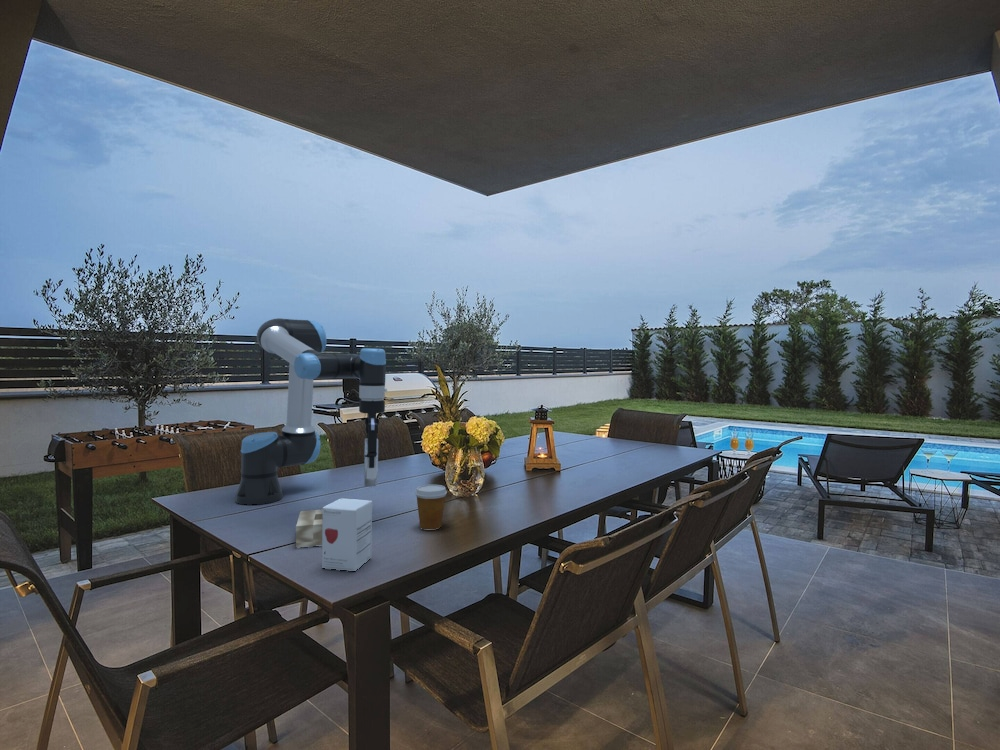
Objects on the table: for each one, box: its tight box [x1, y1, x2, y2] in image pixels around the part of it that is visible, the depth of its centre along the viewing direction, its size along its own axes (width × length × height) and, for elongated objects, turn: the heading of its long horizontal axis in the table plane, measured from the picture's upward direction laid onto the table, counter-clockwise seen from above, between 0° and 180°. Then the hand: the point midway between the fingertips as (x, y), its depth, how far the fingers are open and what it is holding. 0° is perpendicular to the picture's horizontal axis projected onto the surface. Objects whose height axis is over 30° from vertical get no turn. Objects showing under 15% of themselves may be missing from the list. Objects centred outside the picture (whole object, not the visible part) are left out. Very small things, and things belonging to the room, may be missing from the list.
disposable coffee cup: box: [414, 484, 448, 530], centre depth 152 cm, size 10×10×12 cm
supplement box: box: [321, 497, 373, 572], centre depth 124 cm, size 9×9×15 cm
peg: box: [363, 437, 379, 488], centre depth 154 cm, size 4×4×14 cm
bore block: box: [295, 509, 323, 548], centre depth 143 cm, size 14×14×6 cm
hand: (370, 476), depth 154 cm, fingers closed on peg, 4 cm apart
